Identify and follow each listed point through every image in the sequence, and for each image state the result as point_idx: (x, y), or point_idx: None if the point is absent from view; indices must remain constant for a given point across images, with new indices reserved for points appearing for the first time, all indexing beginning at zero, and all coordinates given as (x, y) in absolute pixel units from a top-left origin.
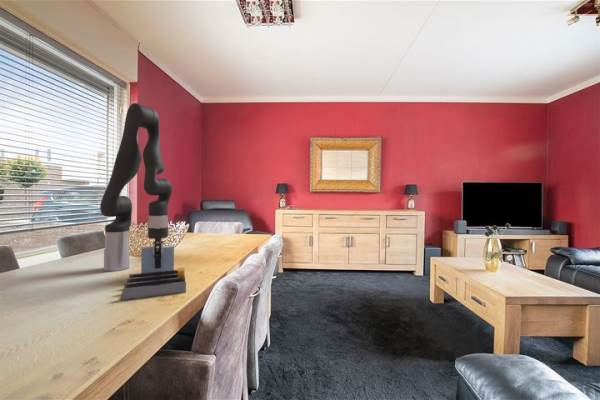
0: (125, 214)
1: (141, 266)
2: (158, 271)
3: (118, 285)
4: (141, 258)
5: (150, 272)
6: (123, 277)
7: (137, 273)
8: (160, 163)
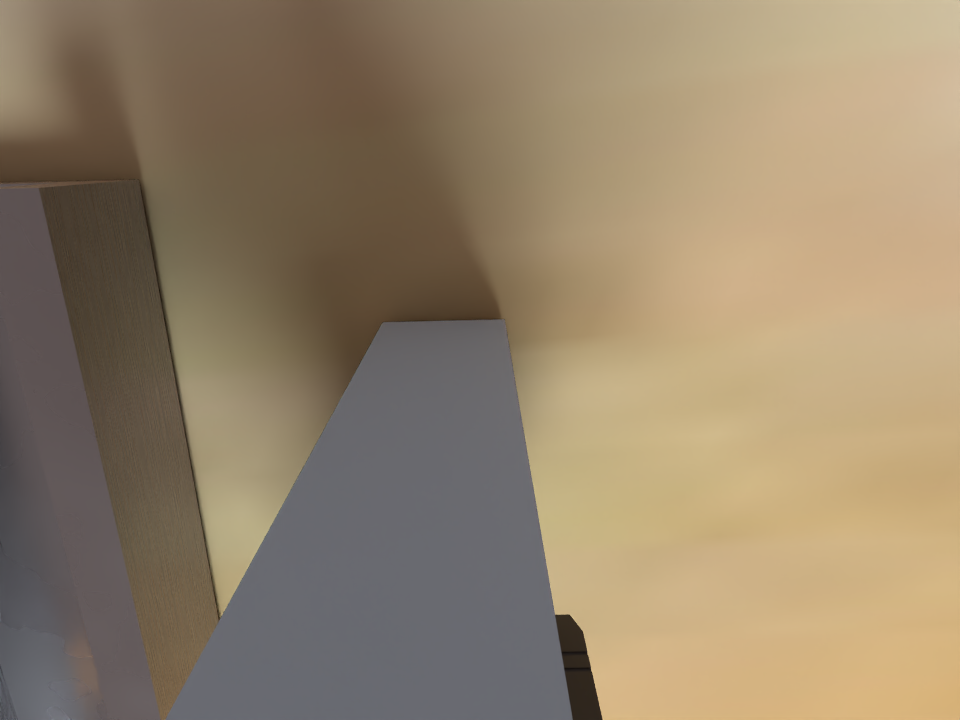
0: None
1: (345, 396)
2: (139, 642)
3: (95, 10)
4: (291, 492)
5: (99, 535)
6: (583, 13)
7: (70, 332)
8: None
